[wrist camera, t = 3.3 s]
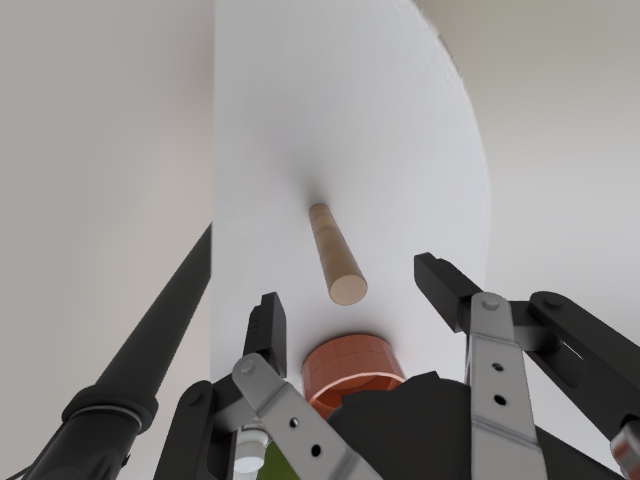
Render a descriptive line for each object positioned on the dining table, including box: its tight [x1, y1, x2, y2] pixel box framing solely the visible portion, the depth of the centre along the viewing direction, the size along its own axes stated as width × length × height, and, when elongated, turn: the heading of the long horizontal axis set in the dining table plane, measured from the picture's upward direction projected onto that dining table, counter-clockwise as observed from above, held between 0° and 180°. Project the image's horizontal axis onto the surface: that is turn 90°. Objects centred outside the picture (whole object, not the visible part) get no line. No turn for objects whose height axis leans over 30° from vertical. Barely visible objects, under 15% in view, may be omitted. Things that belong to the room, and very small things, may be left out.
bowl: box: [302, 335, 407, 420], centre depth 33 cm, size 14×14×6 cm
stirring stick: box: [309, 204, 367, 305], centre depth 18 cm, size 2×2×12 cm
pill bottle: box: [234, 416, 269, 473], centre depth 32 cm, size 5×5×8 cm
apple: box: [256, 441, 300, 480], centre depth 38 cm, size 11×10×10 cm
